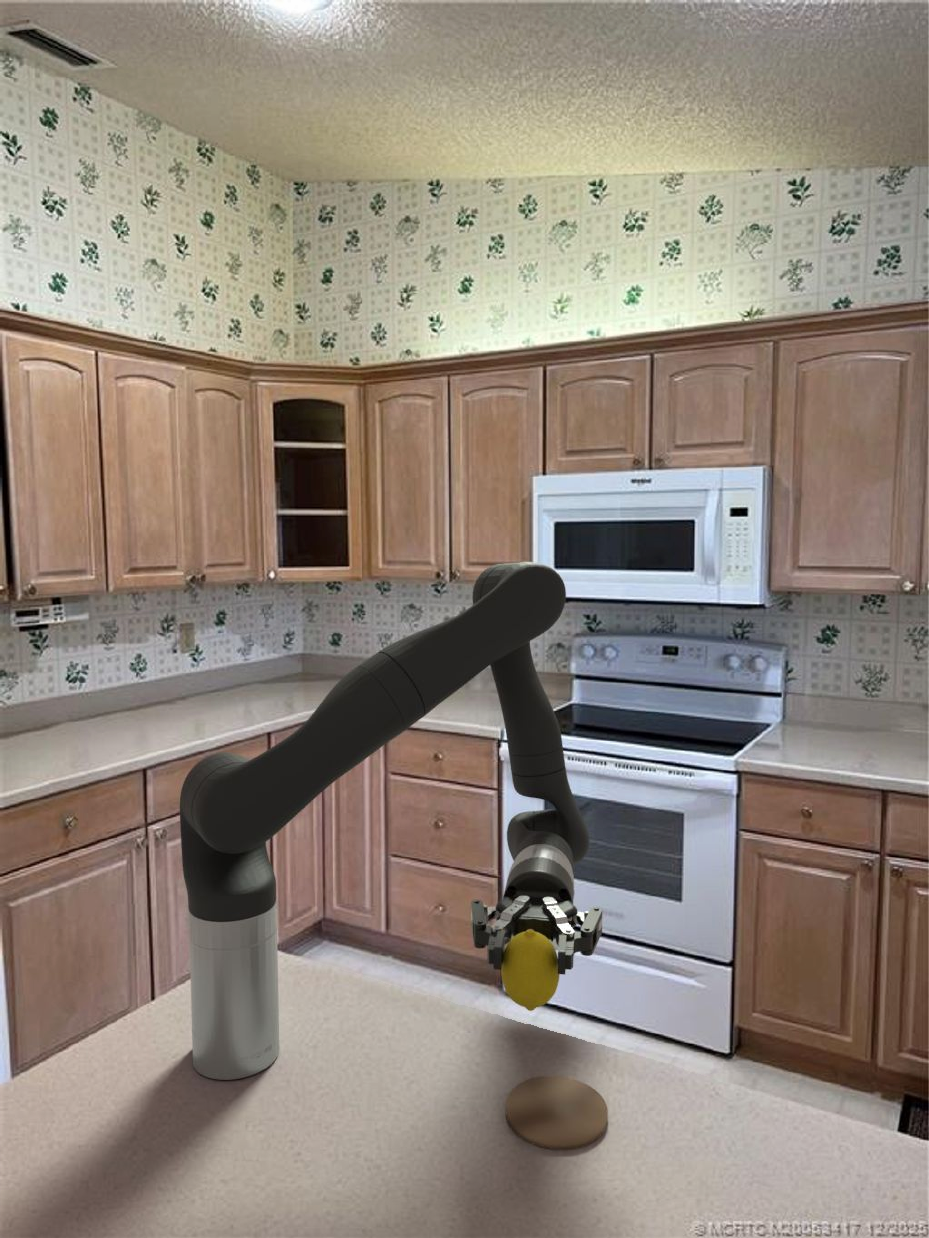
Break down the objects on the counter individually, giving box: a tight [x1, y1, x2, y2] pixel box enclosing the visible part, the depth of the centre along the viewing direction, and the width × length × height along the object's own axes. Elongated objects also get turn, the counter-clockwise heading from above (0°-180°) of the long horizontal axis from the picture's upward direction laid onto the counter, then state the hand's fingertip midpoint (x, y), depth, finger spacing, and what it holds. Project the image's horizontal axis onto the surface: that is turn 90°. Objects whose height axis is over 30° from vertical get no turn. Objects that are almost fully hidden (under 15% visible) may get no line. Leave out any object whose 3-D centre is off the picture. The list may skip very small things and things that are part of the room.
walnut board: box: [505, 1075, 609, 1151], centre depth 86 cm, size 10×10×1 cm
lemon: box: [500, 929, 560, 1011], centre depth 83 cm, size 6×6×8 cm
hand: (529, 962), depth 80 cm, fingers closed on lemon, 5 cm apart
